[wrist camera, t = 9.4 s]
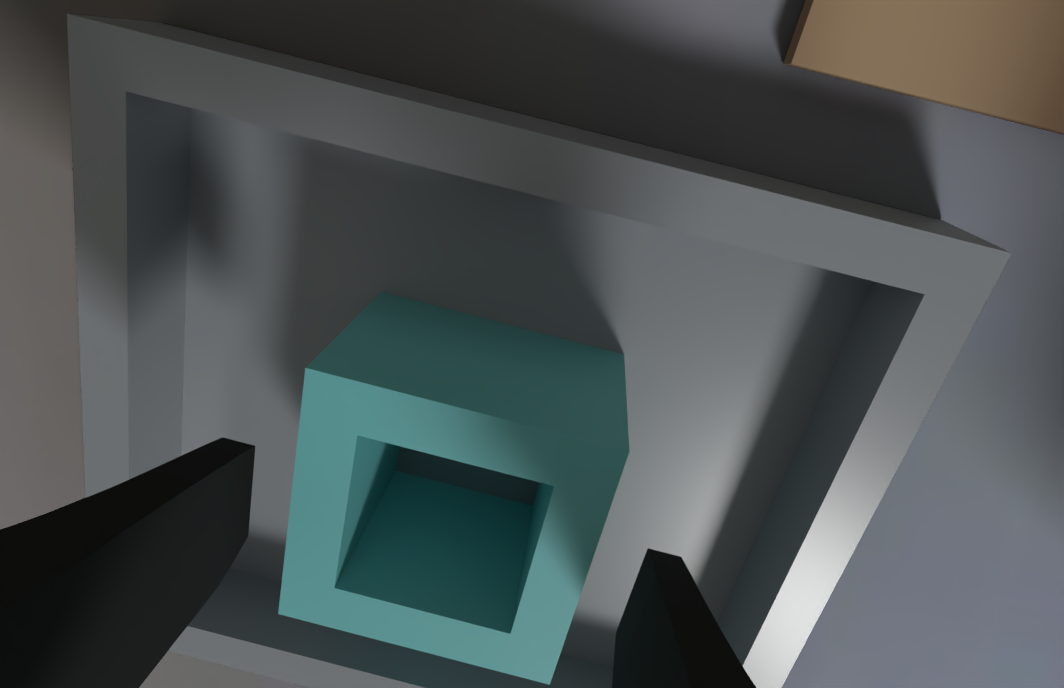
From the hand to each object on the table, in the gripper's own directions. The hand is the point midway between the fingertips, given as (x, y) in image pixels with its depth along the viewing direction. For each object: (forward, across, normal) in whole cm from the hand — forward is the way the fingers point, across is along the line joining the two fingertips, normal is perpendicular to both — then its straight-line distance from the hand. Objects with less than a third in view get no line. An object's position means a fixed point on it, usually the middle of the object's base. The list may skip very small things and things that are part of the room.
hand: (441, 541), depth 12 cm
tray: (+4, 0, 0) cm, 4 cm away
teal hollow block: (+4, 0, 0) cm, 4 cm away
